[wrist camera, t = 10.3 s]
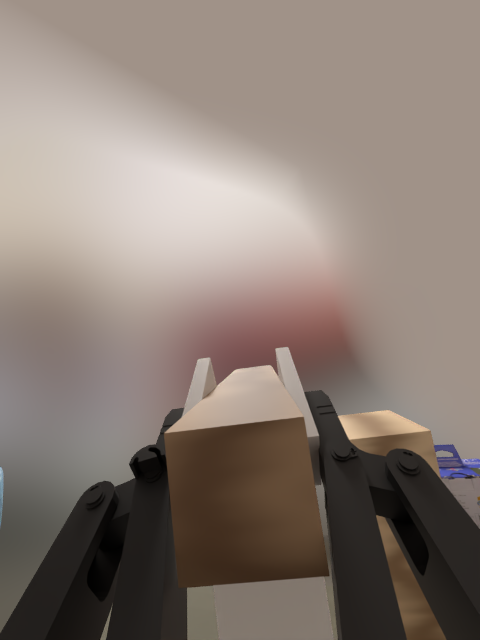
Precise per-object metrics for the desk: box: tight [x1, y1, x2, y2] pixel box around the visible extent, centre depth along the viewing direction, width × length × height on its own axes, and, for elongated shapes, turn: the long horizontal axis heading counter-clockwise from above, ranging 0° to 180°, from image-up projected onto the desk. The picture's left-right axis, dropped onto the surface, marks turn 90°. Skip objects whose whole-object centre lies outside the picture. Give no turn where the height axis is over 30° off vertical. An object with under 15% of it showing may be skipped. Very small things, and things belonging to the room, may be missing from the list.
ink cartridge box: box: [434, 445, 480, 529], centre depth 33 cm, size 10×6×14 cm, turn 76°
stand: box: [338, 410, 446, 640], centre depth 27 cm, size 10×10×22 cm
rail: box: [164, 365, 329, 588], centre depth 18 cm, size 4×22×4 cm, turn 175°
